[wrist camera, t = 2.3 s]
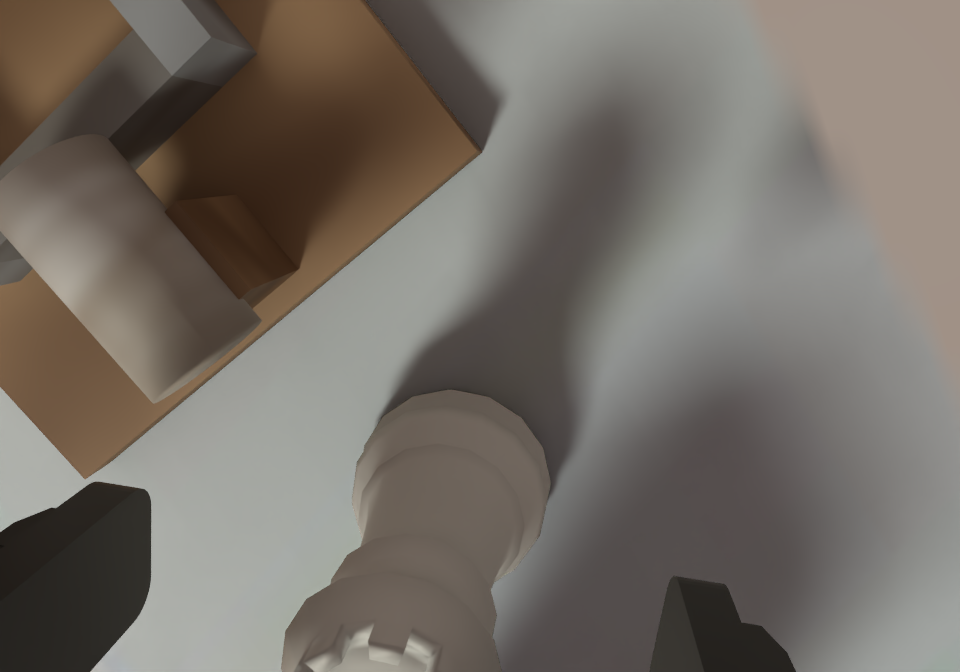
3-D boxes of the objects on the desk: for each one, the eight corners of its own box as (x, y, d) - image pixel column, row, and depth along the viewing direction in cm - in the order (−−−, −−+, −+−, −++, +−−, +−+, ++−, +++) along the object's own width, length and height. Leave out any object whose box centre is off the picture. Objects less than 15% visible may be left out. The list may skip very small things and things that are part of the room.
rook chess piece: (505, 354, 17) (456, 523, 9) (580, 522, 17) (597, 814, 10) (333, 423, 17) (153, 633, 10) (412, 581, 18) (303, 893, 10)
